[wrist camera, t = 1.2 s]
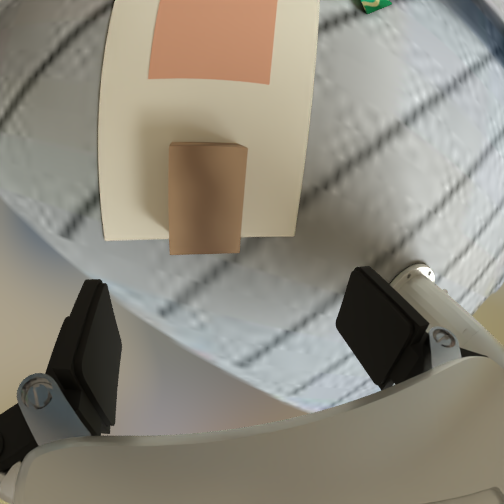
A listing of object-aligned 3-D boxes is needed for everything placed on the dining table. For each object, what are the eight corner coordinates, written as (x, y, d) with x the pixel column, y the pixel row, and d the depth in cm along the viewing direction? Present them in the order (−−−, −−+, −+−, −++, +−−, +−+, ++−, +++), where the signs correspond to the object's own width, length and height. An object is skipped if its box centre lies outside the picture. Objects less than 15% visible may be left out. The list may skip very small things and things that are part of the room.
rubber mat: (318, -6, 18) (320, -8, 18) (293, 235, 30) (294, 236, 30) (122, -23, 13) (121, -25, 13) (105, 239, 25) (104, 241, 25)
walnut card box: (237, 143, 24) (248, 147, 20) (230, 232, 28) (239, 252, 24) (171, 141, 23) (169, 146, 19) (171, 234, 27) (169, 254, 23)
